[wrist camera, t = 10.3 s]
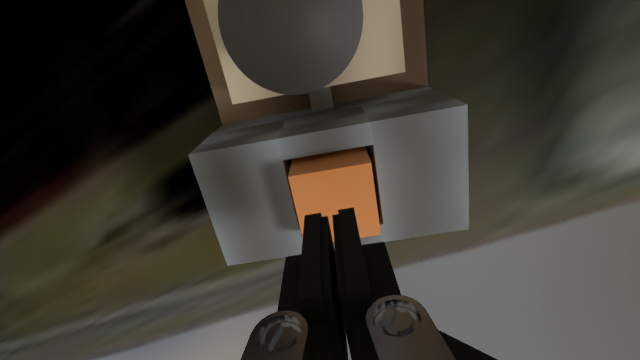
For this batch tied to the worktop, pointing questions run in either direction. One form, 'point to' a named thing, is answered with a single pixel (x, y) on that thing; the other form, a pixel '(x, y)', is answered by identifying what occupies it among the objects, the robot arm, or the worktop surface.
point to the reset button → (336, 187)
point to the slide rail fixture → (328, 136)
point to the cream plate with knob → (304, 44)
